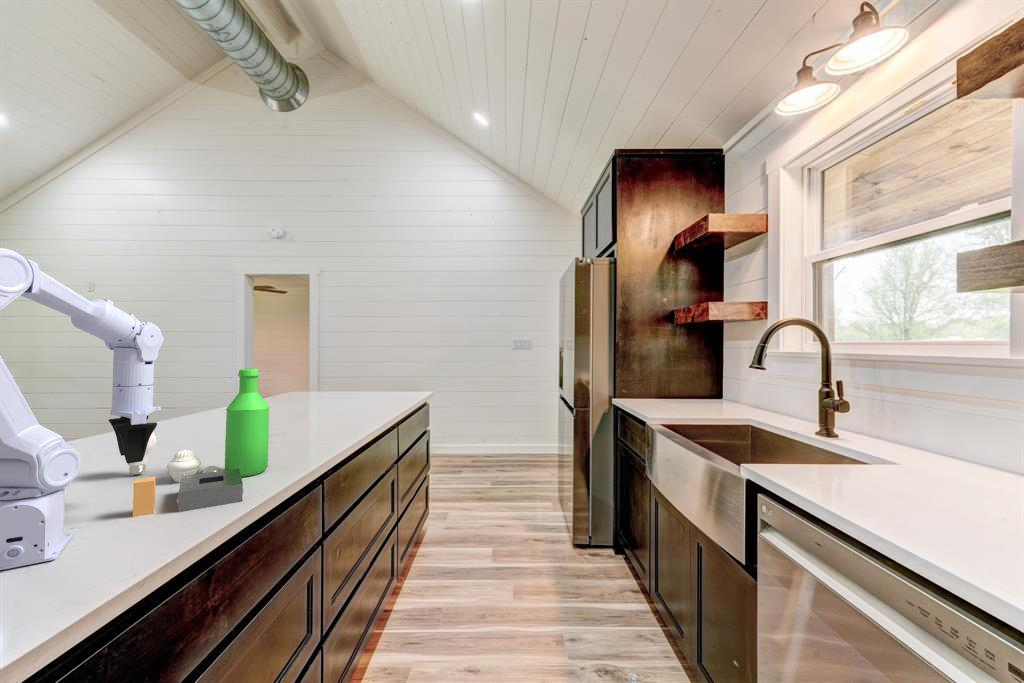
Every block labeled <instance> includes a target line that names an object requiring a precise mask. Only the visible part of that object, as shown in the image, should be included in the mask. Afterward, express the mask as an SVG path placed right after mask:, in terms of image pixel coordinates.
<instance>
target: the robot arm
mask: <svg viewBox="0 0 1024 683" xmlns="http://www.w3.org/2000/svg"><path fill="white" fill-rule="evenodd" d="M19 297H23V298H26V299H28V300H31V301H32V302H36V303H38V304H40V305H43V306H45V307H48V308H50V309H52V310H54V311H57V312H59V313H62V314H64V315H66V316H68V317H70V321H71V324H72V325H73V327H75V328H77V329H79V330H81V331H83V332H84V333H85V332H86V333H88V334H89V335H92V336H94V337H96V338H98V339H99V340H102V341H103V342H104V344H105V346H106V347H107V348H108V349H109V350H110V351H113V356H112V357H113V361H112V362H113V363H112V367H113V368H112V389H111V391H112V392H111V394H112V395H111V396H112V397H111V409H110V411H109V415H110V416H113V417H114V416H115V417H117V418H115V417H114V418H110V419H108V423H110V425H111V427H112V428H113V431H114V434H115V437H116V442H117V447H118V451H119V454H120V456H121V457H122V456H124V455H125V456H124V458H125V459H124V460H125V462H126V464H127V465H128V463H135V462H142V461H143V458H144V455H145V452H146V448H147V444H148V441H149V438H150V436H151V434H152V432H155V430H156V428H157V427H158V423H157V421H156V422H154V421H153V422H147V421H148V419H149V415H150V414H153V413H154V412H160V411H162V407H161V406H154V385H155V381H154V380H155V377H154V376H155V361H156V360H157V358H158V357H159V350H160V348H161V347H162V346H163V344H164V340H165V339H164V338H165V336H163V333H162V331H161V330H162V329H160V327H158V326H157V325H156V324H155V323H153V322H151V321H140V320H139V319H138V318H136V315H135V314H133V313H128V312H126V311H124V310H122V309H120V308H118V307H117V306H115V305H114V304H115V302H114V301H112V300H110V299H108V298H107V299H105V298H104V299H102V298H92V299H87V298H86V297H84V296H82V295H81V294H79V293H78V292H76V291H75V290H72V289H71V288H69V287H67V286H66V285H64V284H63V283H62V282H59V281H58V280H57V279H55V278H53V277H52V276H51V275H48V274H47V273H45V272H44V271H42V270H41V269H40V268H39V265H38V263H37V262H36V261H34V260H31V259H28V258H25V257H24V256H22V255H21V254H20V253H18V252H17V251H16V250H15V251H14V250H12V249H8V248H3V247H0V311H1V310H3V309H5V308H6V307H8V305H10V304H11V303H12V302H14V301H15V300H16V299H18V298H19ZM81 467H82V457H81V454H80V452H79V451H78V450H77V449H76V448H74V447H72V446H70V445H68V444H67V442H66V441H65V440H64V437H63V436H62V435H60V434H59V433H57V432H55V431H53V430H51V429H48V428H47V427H44V426H43V425H41V424H40V423H39V422H38V420H37V418H36V416H35V414H34V413H33V411H32V409H31V407H30V406H29V404H28V402H27V401H26V399H25V397H24V395H23V393H22V392H21V390H20V388H19V386H18V384H17V382H16V380H15V378H14V376H12V374H11V372H10V370H9V368H8V366H7V365H6V363H5V360H4V359H3V357H2V356H1V355H0V571H3V570H8V569H14V568H18V567H24V566H29V565H34V564H39V563H44V562H49V561H53V560H56V559H58V557H59V555H60V553H62V551H63V550H64V549H65V547H66V546H67V544H68V543H69V541H70V540H71V539H72V537H73V532H66V533H65V504H66V502H65V500H66V499H65V498H66V497H65V496H66V489H67V488H70V483H73V481H74V480H75V479H76V477H77V476H78V475H79V473H80V470H81Z"/></svg>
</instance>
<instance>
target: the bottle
mask: <svg viewBox="0 0 1024 683" xmlns="http://www.w3.org/2000/svg"><path fill="white" fill-rule="evenodd" d="M259 371H260V370H259V369H258V368H241V369H239V371H238V375H237V376H238V377H239V385H238V386H239V387H238V394H237V395H236V396H235V397H234V398H233V399H232V401H231V402H230V403H229V405H228V406H227V407H226V415H225V418H226V419H225V421H226V422H225V439H224V442H225V445H224V446H225V447H224V448H225V449H224V450H225V451H224V470H232V469H240V474H241V478H245V477H251V476H253V477H254V476H256V475H259V474H261V473H264V471H265V470H267V468H268V466H269V463H268V462H269V439H270V438H269V435H270V433H269V432H270V405H269V404H268V403H267V402H266V400H265V399H264V398H263V397H262V395H261V394H260V393H259V376H260V372H259Z"/></svg>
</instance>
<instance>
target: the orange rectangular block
mask: <svg viewBox="0 0 1024 683" xmlns="http://www.w3.org/2000/svg"><path fill="white" fill-rule="evenodd" d="M156 479H157V478H156V476H151V477H142V478H141V477H140V478H136V479H135V480H134V482H133V495H132V496H133V497H132V518H135V517H134V516H136V517H140V515H142V516H147V515H152V514H153V515H154V512H155V509H156V482H157V480H156Z"/></svg>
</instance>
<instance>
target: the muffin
mask: <svg viewBox="0 0 1024 683" xmlns="http://www.w3.org/2000/svg"><path fill="white" fill-rule="evenodd" d="M173 456H174V457H173V458H172V459H171V461H170V462H168V464H167V465H166V469H167V471H168V474H169V475H170V477H171V478H172V480H173V481H174V482H176V483H181V478H182V476H186V475H193V474H198V473H197V472H198V471H199V469H200V466H201V464H202V461H201V459H200V458H198V457H197V456H196V455H195V451H193V450H191V449H186V448H185V449H182V450H178V451H177V452H176V453H175V454H174V455H173Z"/></svg>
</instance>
